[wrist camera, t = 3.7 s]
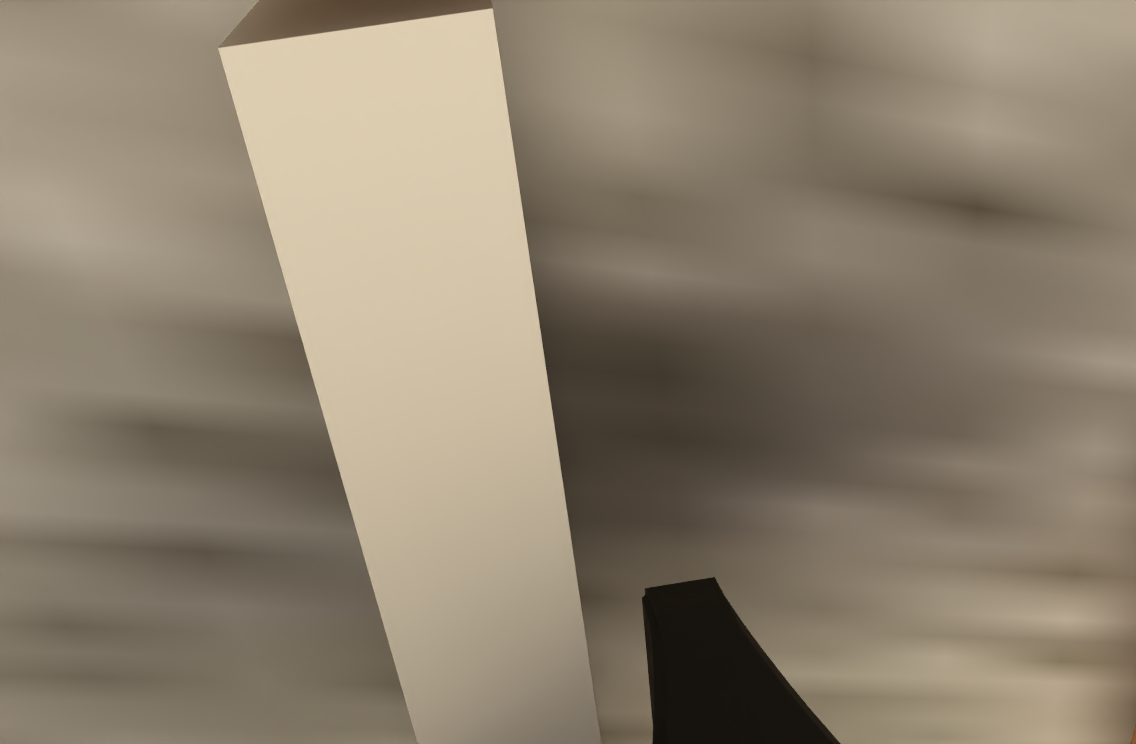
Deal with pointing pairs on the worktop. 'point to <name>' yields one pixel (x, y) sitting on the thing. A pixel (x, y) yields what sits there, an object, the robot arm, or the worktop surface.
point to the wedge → (1134, 737)
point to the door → (424, 347)
